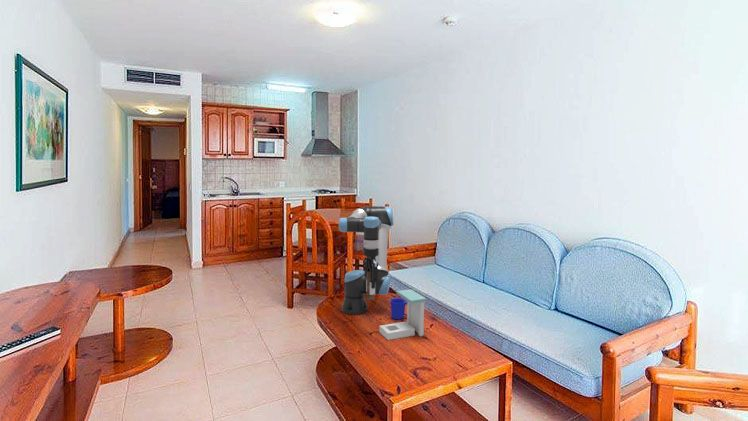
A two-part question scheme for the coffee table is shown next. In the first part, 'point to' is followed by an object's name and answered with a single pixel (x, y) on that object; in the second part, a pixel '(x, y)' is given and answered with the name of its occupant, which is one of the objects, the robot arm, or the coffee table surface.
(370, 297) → the peg
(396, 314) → the mug
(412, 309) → the station
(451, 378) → the coffee table surface
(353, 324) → the coffee table surface
